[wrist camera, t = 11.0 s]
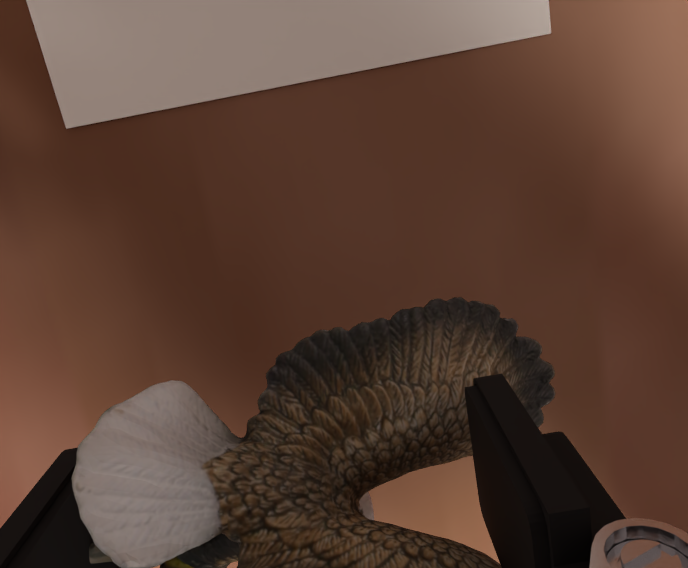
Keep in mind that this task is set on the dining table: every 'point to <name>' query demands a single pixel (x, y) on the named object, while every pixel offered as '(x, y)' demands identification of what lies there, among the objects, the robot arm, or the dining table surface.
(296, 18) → the white square panel
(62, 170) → the dining table surface
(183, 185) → the dining table surface
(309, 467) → the eagle figurine
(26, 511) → the robot arm
